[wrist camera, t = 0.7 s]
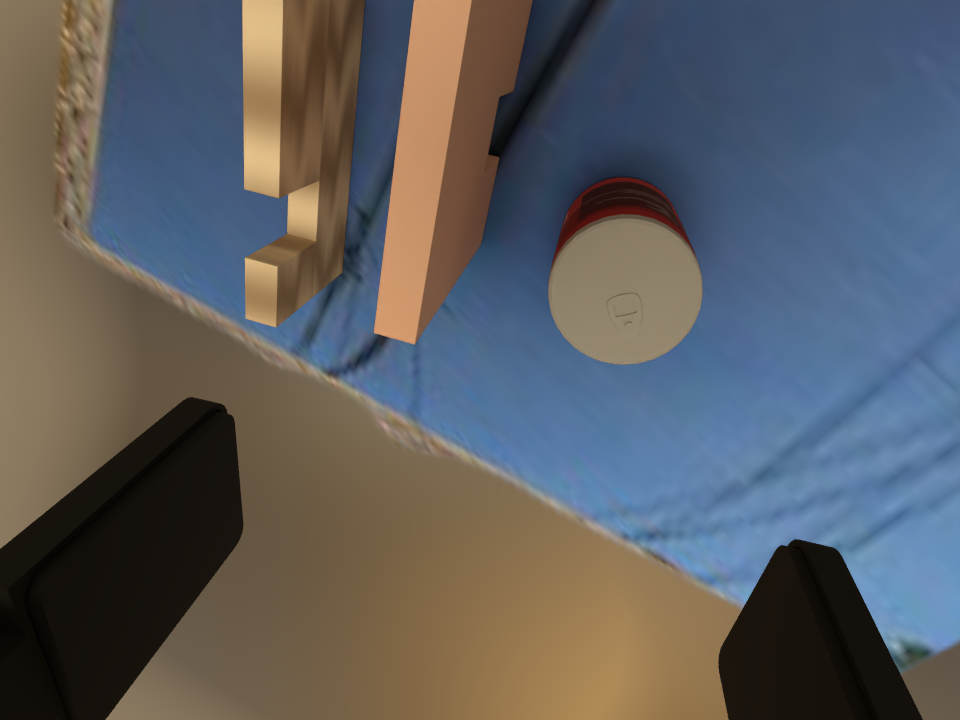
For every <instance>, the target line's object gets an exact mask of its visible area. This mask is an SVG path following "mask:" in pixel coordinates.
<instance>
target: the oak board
mask: <svg viewBox="0 0 960 720" xmlns="http://www.w3.org/2000/svg"><path fill="white" fill-rule="evenodd" d="M364 7H365V0H243V94H244V189H246V190H250V191H253V192H257V193H261V194H265V195H269V196H272V197H276V198H281V197H283V196H285V195H287V194H288V227H287V234H286V235H285V236H283V237H281V238H279V239H278V240H276V241H274V242H272V243H271V244H269V245H267V246H265V247H263V248H262V249H260V250H258V251H256V252H255V253H253V254H251V255H249V256H247V257H246V258H245V296H246V319H249V320H252V321H256V322H259V323H263V324H266V325H270V326H274V327H277V326H278V325H280V324H281V323H282V322H283V321H284V320H286V319H287V318H288V317H289V316H290V315H292V314H293V313H294V312H295V311H296V310H298V309H299V308H300V307H301V306H303V305H304V304H305V303H306V302H307V301H309V300H310V299H311V298H312V297H313V296H315V295H316V294H317V293H318V292H319V291H321V290H322V289H323V288H324V287H325V286H327V285H328V284H329V283H330V282H332V281H333V280H334V279H335V278H336V277H338V276H339V275H340V274H341V273H342V270H343V258H344V246H345V234H346V222H347V210H348V198H349V186H350V174H351V162H352V150H353V138H354V126H355V114H356V102H357V91H358V79H359V67H360V55H361V43H362V31H363V19H364Z"/></svg>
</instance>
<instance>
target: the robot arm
mask: <svg viewBox="0 0 960 720" xmlns="http://www.w3.org/2000/svg"><path fill="white" fill-rule="evenodd" d="M238 468H239V467H238V456H237V444H236V432H235V422H234V418H233V416H232V415H229V414H227V409H226V408H225V406H224V405H222V404H219V403H215V402H211V401H206V400H202V399H198V398H193V397H190V398H187V399H185V400H183V401H182V402H181V403H179V404H178V405H177V406H176V407H175V408H173V409H172V410H171V411H170V412H168V413H167V414H166V415H165V416H163V417H162V418H161V419H160V420H159V421H158V422H156V423H155V424H154V425H152V426H151V427H150V428H149V429H148V430H146V431H145V432H144V433H143V434H141V435H140V436H139V437H138V438H136V439H135V440H134V441H133V442H131V443H130V444H129V445H128V446H127V447H125V448H124V449H123V450H122V451H120V452H119V453H118V454H117V455H116V456H114V457H113V458H112V459H111V460H109V461H108V462H107V463H106V464H104V465H103V466H102V467H101V468H99V469H98V470H97V471H96V472H94V473H93V474H92V475H91V476H90V477H88V478H87V479H86V480H85V481H83V482H82V483H81V484H80V485H78V486H77V487H76V488H75V489H74V490H72V491H71V492H70V493H69V494H67V495H66V496H65V497H64V498H63V499H61V500H60V501H59V502H58V503H56V504H55V505H54V506H53V507H51V508H50V509H49V510H48V511H46V512H45V513H44V514H43V515H42V516H40V517H39V518H38V519H37V520H35V521H34V522H33V523H32V524H30V525H29V526H28V527H27V528H26V529H24V530H23V531H22V532H21V533H20V534H18V535H17V536H16V537H14V538H13V539H12V540H11V541H10V542H8V543H7V544H6V545H5V546H3V547H2V548H1V549H0V720H105V719H106V718H107V717H108V716H109V714H110V713H111V712H112V710H113V709H114V708H115V706H116V705H117V704H118V702H119V701H120V700H121V698H122V697H123V696H124V694H125V693H126V692H127V690H128V689H129V688H130V686H131V685H132V684H133V682H134V681H135V680H136V678H137V677H138V676H139V674H140V673H141V672H142V670H143V669H144V668H145V666H146V665H147V664H148V662H149V661H150V660H151V658H152V657H153V656H154V654H155V653H156V652H157V650H158V649H159V647H160V646H161V645H162V644H163V642H164V641H165V640H166V638H167V637H168V636H169V634H170V633H171V632H172V630H173V629H174V628H175V626H176V625H177V624H178V622H179V621H180V620H181V618H182V617H183V616H184V614H185V613H186V612H187V610H188V609H189V608H190V607H191V605H192V604H193V603H194V601H195V600H196V599H197V597H198V596H199V594H200V593H201V592H202V590H203V589H204V588H205V586H206V585H207V584H208V583H209V581H210V580H211V578H212V577H213V576H214V574H215V573H216V572H217V570H218V569H219V568H220V566H221V565H222V564H223V562H224V561H225V560H226V559H227V557H228V556H229V554H230V553H231V552H232V551H233V549H234V548H235V547H236V545H237V543H238V541H239V540H240V537H241V534H242V531H243V514H242V503H241V491H240V479H239V469H238ZM719 673H720V678H721V683H722V688H723V693H724V698H725V703H726V708H727V713H728V718H729V720H923V719H922V717H921V715H920V713H919V711H918V709H917V707H916V705H915V703H914V701H913V699H912V697H911V695H910V693H909V691H908V689H907V687H906V685H905V683H904V681H903V679H902V677H901V675H900V673H899V670H898V668H897V666H896V665H895V663H894V661H893V659H892V657H891V655H890V653H889V651H888V649H887V647H886V645H885V643H884V641H883V639H882V637H881V635H880V633H879V630H878V628H877V626H876V624H875V622H874V620H873V618H872V616H871V614H870V612H869V610H868V608H867V606H866V604H865V602H864V600H863V598H862V596H861V594H860V592H859V590H858V588H857V586H856V584H855V582H854V580H853V578H852V576H851V574H850V572H849V570H848V568H847V566H846V564H845V562H844V560H843V558H842V556H841V554H840V553H839V551H838V550H836V549H835V548H833V547H828V546H824V545H820V544H816V543H811V542H807V541H803V540H796V539H795V540H793V541H791V542H790V543H789V545H788V546H784V545H781V546H779V547H778V548H777V549H776V551H775V552H774V554H773V556H772V558H771V559H770V561H769V563H768V565H767V567H766V568H765V570H764V572H763V574H762V575H761V577H760V579H759V581H758V583H757V584H756V586H755V588H754V590H753V592H752V593H751V595H750V597H749V599H748V600H747V602H746V604H745V606H744V608H743V609H742V611H741V613H740V615H739V616H738V618H737V620H736V622H735V624H734V625H733V627H732V629H731V631H730V632H729V634H728V636H727V638H726V640H725V641H724V643H723V645H722V647H721V649H720V653H719Z"/></svg>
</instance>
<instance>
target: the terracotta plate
mask: <svg viewBox="0 0 960 720" xmlns="http://www.w3.org/2000/svg"><path fill="white" fill-rule="evenodd" d="M532 2H533V0H414V7H413V15H412V23H411V32H410V40H409V48H408V56H407V65H406V73H405V81H404V89H403V98H402V106H401V114H400V122H399V131H398V139H397V147H396V155H395V164H394V172H393V180H392V188H391V197H390V205H389V213H388V221H387V230H386V238H385V246H384V254H383V263H382V271H381V279H380V287H379V296H378V304H377V312H376V320H375V329H374V333H376V334H380V335H383V336H387V337H390V338H394V339H398V340H401V341H405V342H408V343H412V344H415V343H416V342H417V340H418V339H419V337H420V336H421V334H422V333H423V331H424V330H425V328H426V327H427V325H428V324H429V322H430V321H431V319H432V318H433V316H434V315H435V313H436V312H437V310H438V309H439V307H440V306H441V304H442V303H443V301H444V300H445V298H446V296H447V295H448V293H449V292H450V290H451V289H452V287H453V286H454V284H455V283H456V281H457V280H458V278H459V277H460V275H461V274H462V272H463V271H464V269H465V268H466V266H467V265H468V263H469V262H470V260H471V259H472V257H473V256H474V254H475V253H476V251H477V250H478V248H479V247H480V245H481V242H482V238H483V233H484V228H485V223H486V219H487V214H488V209H489V205H490V200H491V195H492V190H493V186H494V181H495V176H496V172H497V167H498V162H499V157H496V156H492V155H488V151H489V146H490V141H491V137H492V132H493V127H494V122H495V117H496V112H497V107H498V102H499V97H500V96H503V95H505V94H508V93H510V92H513V91H514V87H515V82H516V77H517V72H518V68H519V63H520V58H521V53H522V49H523V44H524V39H525V35H526V30H527V25H528V20H529V16H530V11H531V6H532Z"/></svg>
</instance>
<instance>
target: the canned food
mask: <svg viewBox="0 0 960 720" xmlns="http://www.w3.org/2000/svg"><path fill="white" fill-rule="evenodd" d="M702 294H703V290H702V276H701V271H700V267H699V264H698V261H697V258H696V255H695V252H694V250H693V248H692V246H691V243H690V241H689V239H688V237H687V235H686V232H685V230H684V228H683V226H682V224H681V222H680V219H679V217H678V215H677V213H676V211H675V209H674V207H673V205H672V204H671V202H670V201H669V199H668V198H667V197H666V196H665V195H664V194H663V193H662V192H661V191H660V190H658V189H657V188H656V187H654V186H653V185H651V184H649V183H647V182H645V181H642V180H639V179H634V178H624V177H617V178H612V179H607V180H604V181H601V182H599V183H596V184H594V185H592V186H591V187H590V188H588V189H587V190H585V191H584V192H583V193H582V194H581V195H580V196H579V197H578V198H577V199H576V200H575V201H574V202H573V204H572V205H571V207H570V208H569V210H568V212H567V214H566V217H565V219H564V222H563V226H562V229H561V233H560V236H559V240H558V244H557V247H556V251H555V255H554V258H553V262H552V267H551V272H550V277H549V282H548V296H549V304H550V309H551V313H552V316H553V318H554V321H555V323H556V325H557V327H558V328H559V330H560V331H561V333H562V334H563V336H564V337H565V338H566V339H567V340H568V341H569V342H570V343H571V344H572V345H573V346H574V347H575V348H576V349H578V350H579V351H581V352H582V353H584V354H585V355H587V356H590V357H592V358H594V359H596V360H599V361H603V362H607V363H611V364H624V365H626V364H636V363H642V362H645V361H649V360H652V359H655V358H657V357H659V356H661V355H663V354H665V353H667V352H668V351H669V350H671V349H672V348H673V347H675V346H676V345H677V344H679V343H680V341H681V340H682V339H683V338H684V337H685V336H686V335H687V334H688V332H689V331H690V329H691V328H692V326H693V324H694V323H695V321H696V318H697V316H698V313H699V310H700V307H701V301H702Z"/></svg>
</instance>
